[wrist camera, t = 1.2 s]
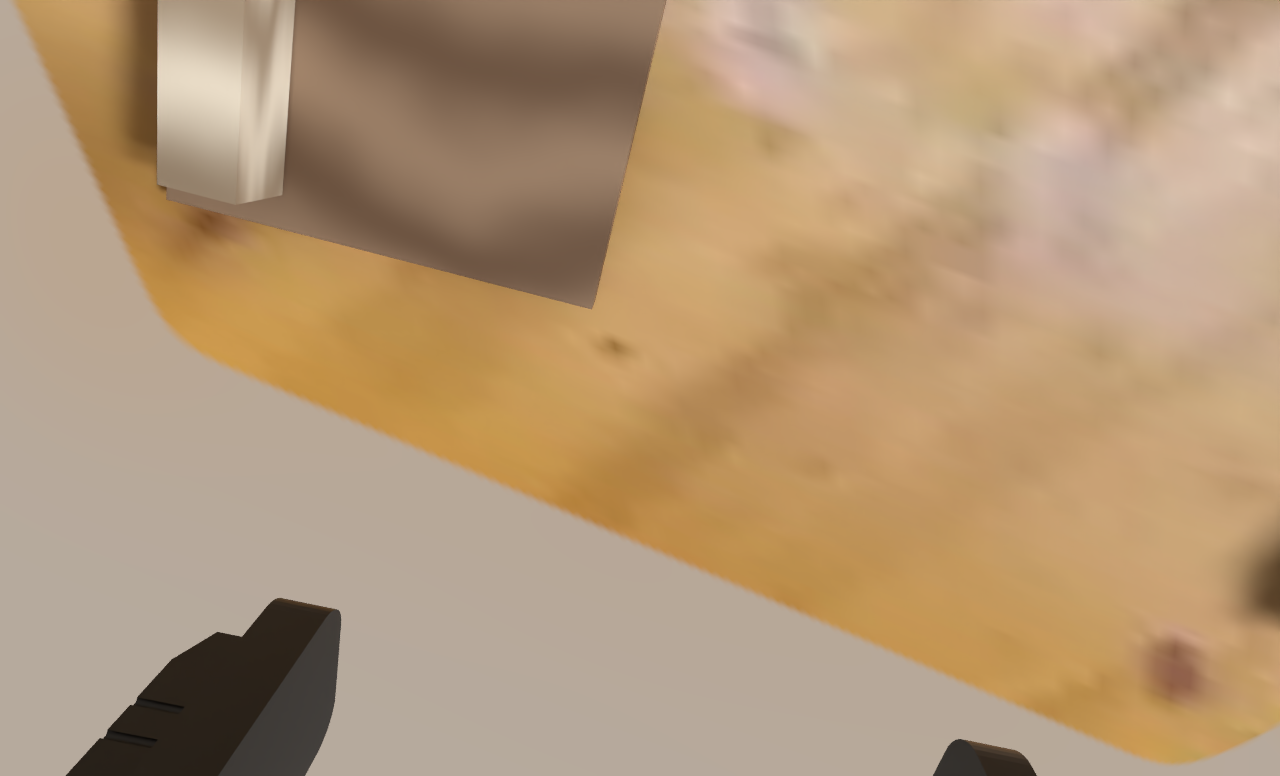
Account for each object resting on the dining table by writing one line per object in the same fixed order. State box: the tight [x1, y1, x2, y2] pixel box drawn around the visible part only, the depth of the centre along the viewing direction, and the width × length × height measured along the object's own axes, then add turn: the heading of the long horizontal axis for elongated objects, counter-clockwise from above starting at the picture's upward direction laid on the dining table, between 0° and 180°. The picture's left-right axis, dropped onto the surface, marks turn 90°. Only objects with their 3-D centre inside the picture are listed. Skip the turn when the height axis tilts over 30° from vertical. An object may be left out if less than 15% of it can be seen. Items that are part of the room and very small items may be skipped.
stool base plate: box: [167, 0, 666, 309], centre depth 27 cm, size 19×19×5 cm
